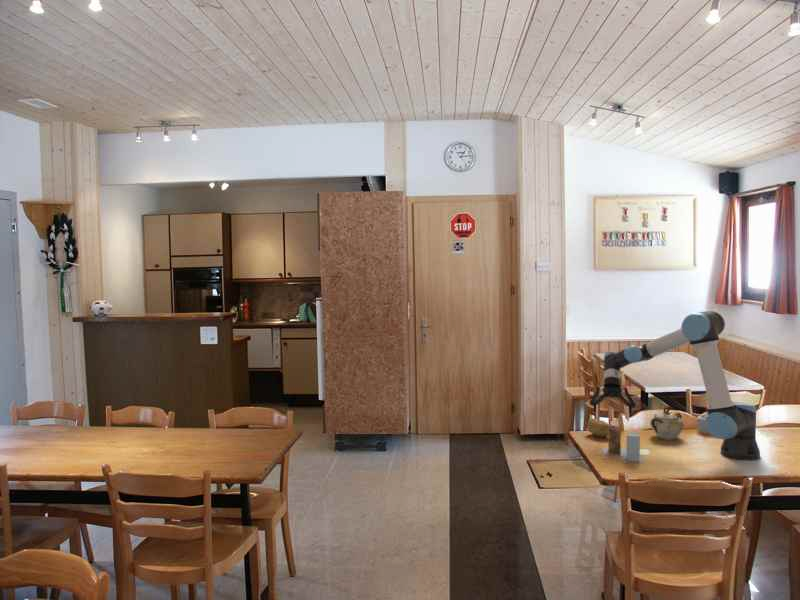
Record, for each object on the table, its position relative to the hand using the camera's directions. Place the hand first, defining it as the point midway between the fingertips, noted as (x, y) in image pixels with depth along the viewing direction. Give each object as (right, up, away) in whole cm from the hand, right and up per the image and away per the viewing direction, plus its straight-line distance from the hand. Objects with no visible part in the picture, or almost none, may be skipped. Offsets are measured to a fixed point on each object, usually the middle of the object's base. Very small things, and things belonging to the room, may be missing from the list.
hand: (612, 419), depth 285 cm
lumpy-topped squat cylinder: (+56, -11, +22) cm, 62 cm away
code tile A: (-2, -14, -7) cm, 16 cm away
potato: (0, -12, +18) cm, 21 cm away
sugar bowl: (+31, -12, +14) cm, 36 cm away
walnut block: (-2, -13, -8) cm, 15 cm away
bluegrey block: (+3, -14, -18) cm, 23 cm away
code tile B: (+3, -14, -18) cm, 23 cm away
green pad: (+9, -13, -8) cm, 18 cm away
